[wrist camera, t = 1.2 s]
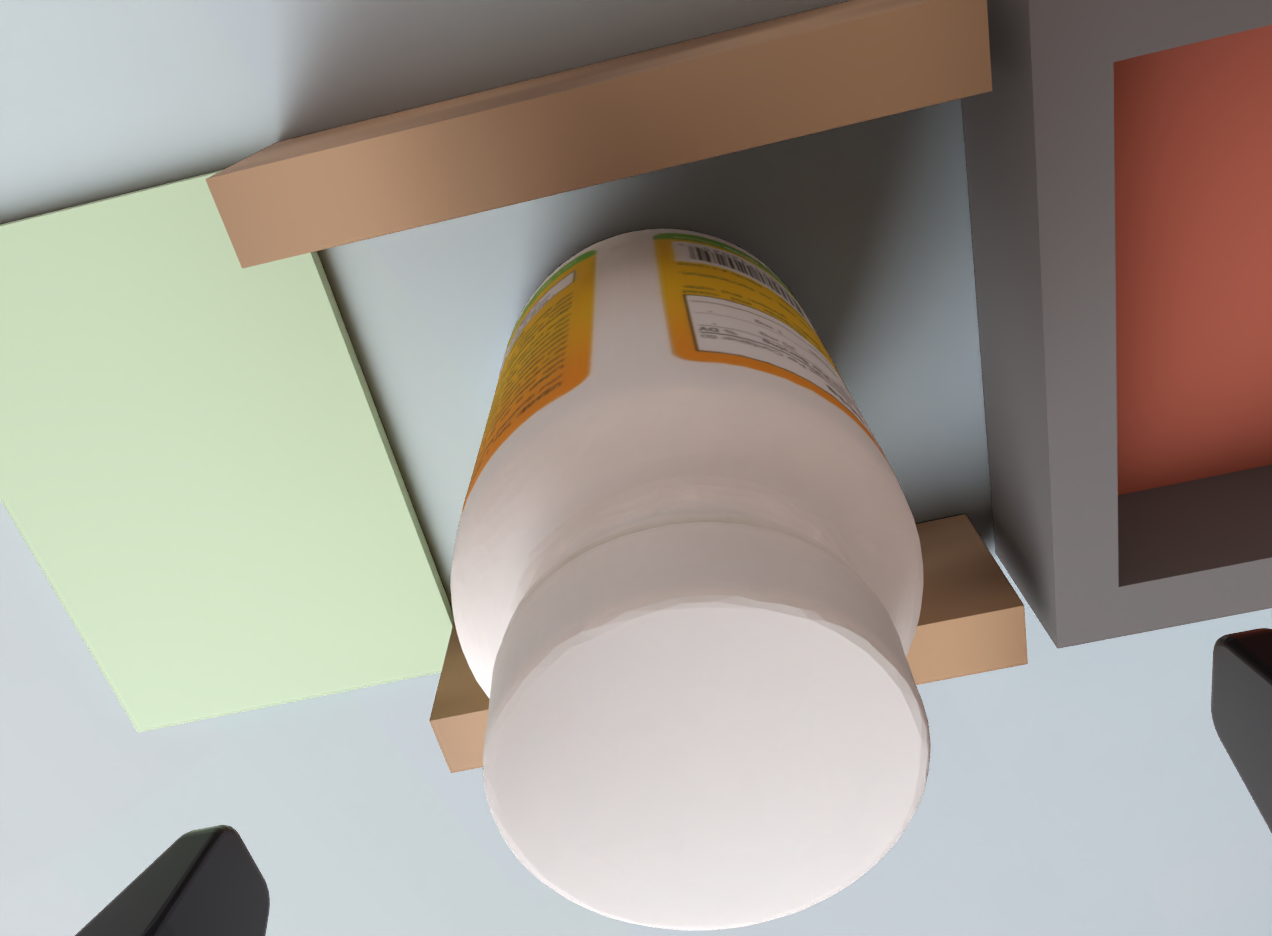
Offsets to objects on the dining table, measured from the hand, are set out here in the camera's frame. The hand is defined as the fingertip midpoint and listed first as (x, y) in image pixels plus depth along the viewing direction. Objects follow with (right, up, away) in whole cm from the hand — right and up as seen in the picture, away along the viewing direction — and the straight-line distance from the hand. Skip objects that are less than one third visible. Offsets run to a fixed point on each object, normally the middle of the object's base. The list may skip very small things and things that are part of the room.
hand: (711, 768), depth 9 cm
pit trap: (+9, +6, +8) cm, 13 cm away
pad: (-9, +3, +9) cm, 13 cm away
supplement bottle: (0, +4, +9) cm, 10 cm away
